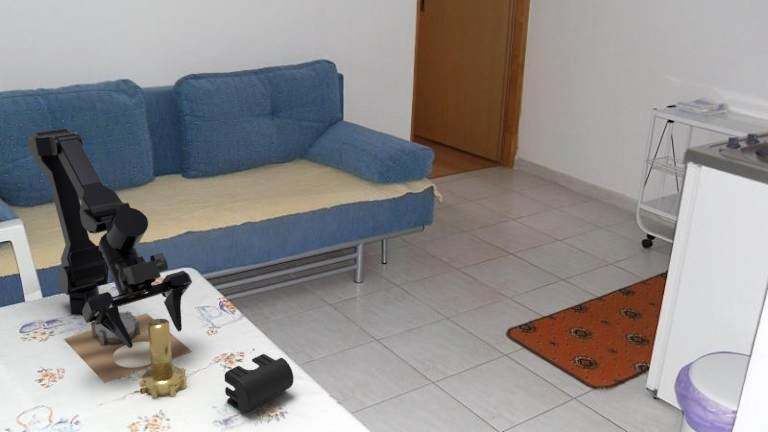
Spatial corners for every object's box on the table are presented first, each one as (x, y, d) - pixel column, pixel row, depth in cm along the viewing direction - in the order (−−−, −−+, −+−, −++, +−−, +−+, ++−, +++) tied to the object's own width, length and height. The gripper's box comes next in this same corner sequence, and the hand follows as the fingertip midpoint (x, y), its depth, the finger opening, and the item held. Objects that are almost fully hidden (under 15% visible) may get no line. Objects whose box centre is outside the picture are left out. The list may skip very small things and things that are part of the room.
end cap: (249, 421, 128) (248, 386, 125) (223, 404, 132) (221, 370, 130) (294, 396, 135) (294, 363, 133) (268, 381, 139) (267, 348, 137)
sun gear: (87, 332, 150) (85, 313, 149) (127, 320, 155) (125, 302, 154) (105, 351, 144) (103, 331, 143) (146, 337, 149) (144, 318, 148)
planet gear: (150, 371, 141) (145, 310, 136) (193, 375, 140) (189, 314, 136) (131, 396, 133) (125, 333, 129) (177, 400, 133) (172, 337, 128)
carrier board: (64, 345, 148) (63, 337, 148) (146, 319, 159) (146, 311, 158) (105, 390, 135) (104, 381, 134) (192, 358, 146) (192, 350, 145)
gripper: (80, 254, 127) (115, 339, 123) (183, 229, 138) (218, 306, 134) (68, 281, 135) (100, 362, 131) (166, 255, 146) (198, 328, 143)
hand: (156, 338), depth 135 cm, fingers open, 9 cm apart
